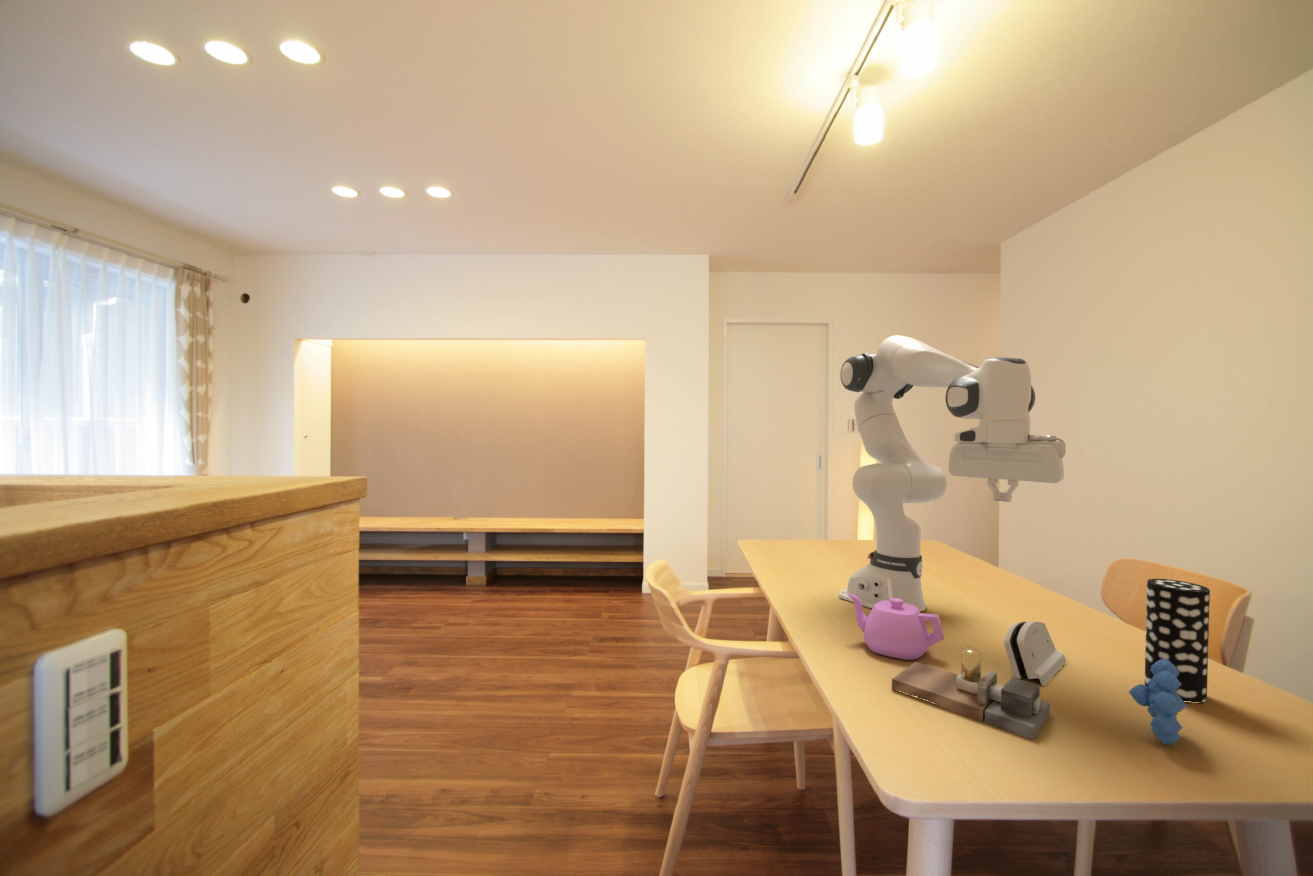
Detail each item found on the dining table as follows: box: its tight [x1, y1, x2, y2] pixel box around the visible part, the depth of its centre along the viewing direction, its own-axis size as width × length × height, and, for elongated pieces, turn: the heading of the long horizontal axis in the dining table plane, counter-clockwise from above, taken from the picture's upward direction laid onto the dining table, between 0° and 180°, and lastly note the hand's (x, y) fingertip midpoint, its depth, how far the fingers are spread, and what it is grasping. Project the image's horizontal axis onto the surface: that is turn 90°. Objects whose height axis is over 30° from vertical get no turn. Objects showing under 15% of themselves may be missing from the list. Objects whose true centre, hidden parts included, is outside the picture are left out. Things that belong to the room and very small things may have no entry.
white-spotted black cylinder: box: [1144, 578, 1211, 702], centre depth 100 cm, size 8×8×20 cm
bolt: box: [956, 646, 1041, 714], centre depth 93 cm, size 12×3×7 cm, turn 43°
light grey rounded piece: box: [1003, 620, 1067, 687], centre depth 110 cm, size 17×5×10 cm, turn 131°
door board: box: [891, 661, 1051, 741], centre depth 96 cm, size 22×11×5 cm, turn 43°
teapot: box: [847, 593, 945, 661], centre depth 119 cm, size 13×20×11 cm, turn 55°
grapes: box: [1128, 659, 1187, 746], centre depth 86 cm, size 12×7×12 cm, turn 140°
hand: (1002, 501), depth 113 cm, fingers closed
